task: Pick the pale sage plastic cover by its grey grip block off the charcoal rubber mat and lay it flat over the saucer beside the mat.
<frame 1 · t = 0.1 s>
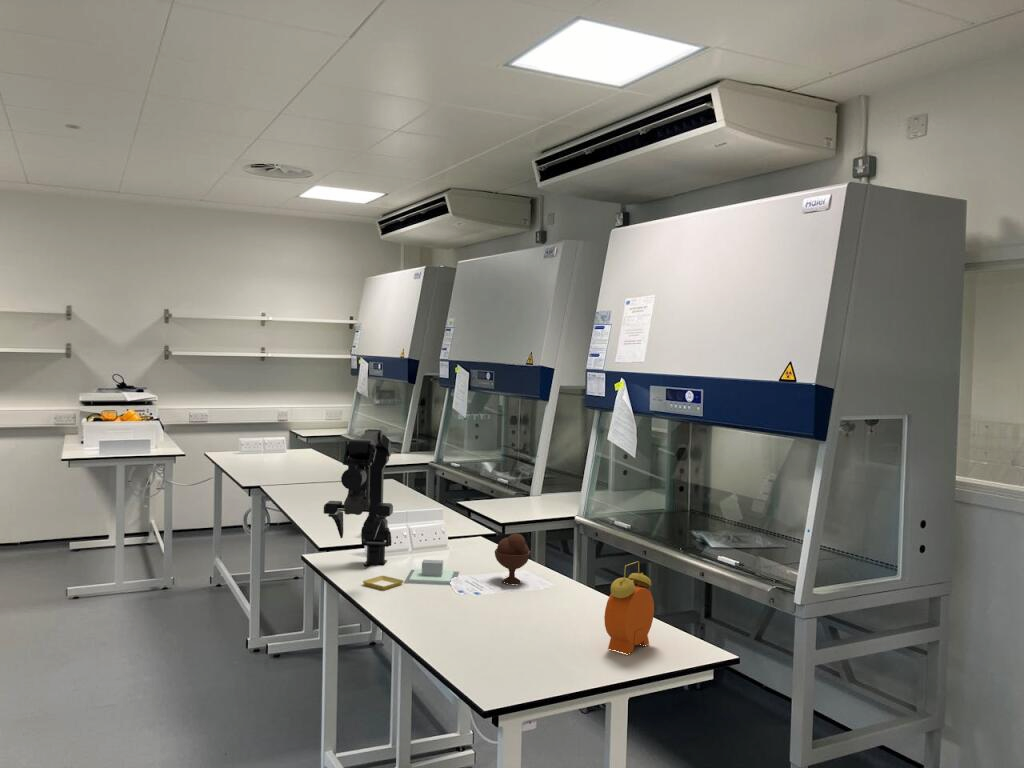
hand: (357, 538, 224), 15 cm above the table, tool pointing down, fingers open, 9 cm apart
cover: (432, 577, 238), resting on mat
alarm clock: (628, 647, 187), on the table
mat: (432, 578, 238), on the table
ice cream bowl: (511, 583, 238), on the table
saucer: (383, 588, 229), on the table
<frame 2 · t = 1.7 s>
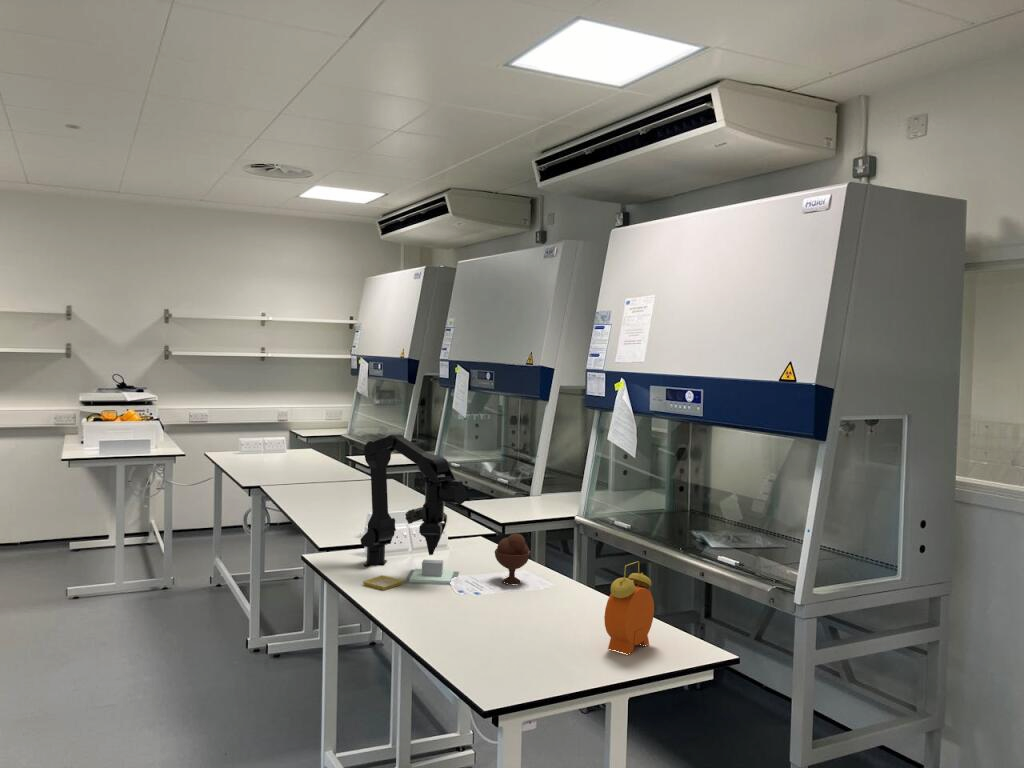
hand: (432, 551, 238), 8 cm above the table, tool pointing down, fingers open, 9 cm apart
nothing on the table moved.
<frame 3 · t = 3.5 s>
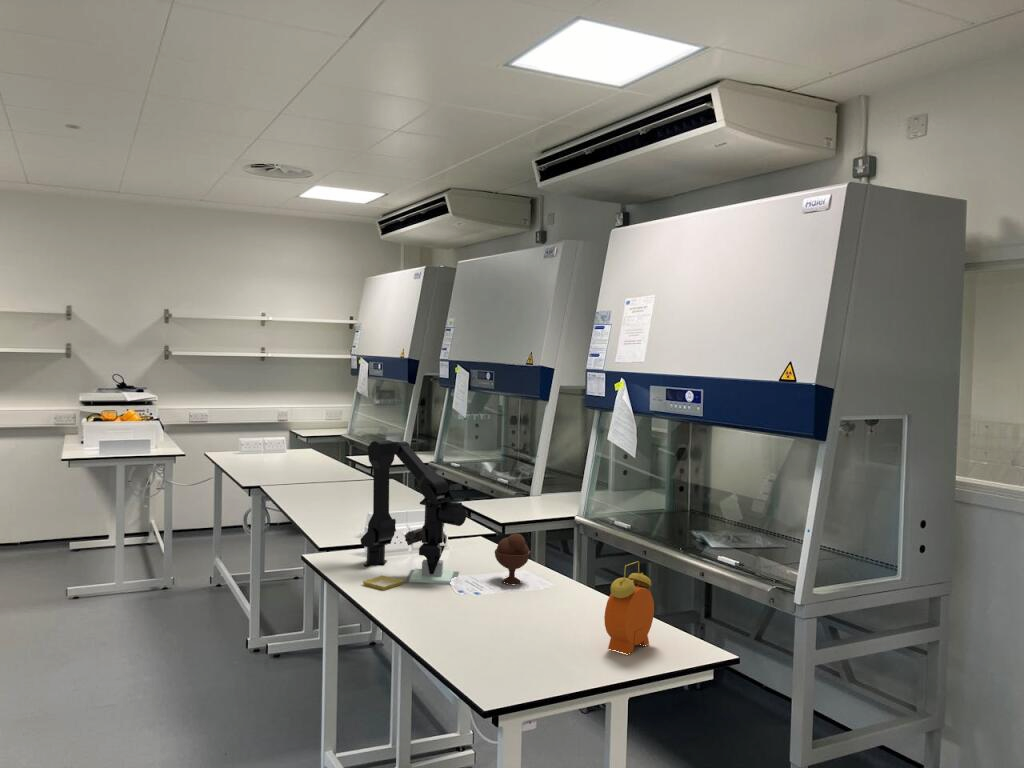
hand: (432, 572, 238), 2 cm above the table, tool pointing down, fingers closed on cover, 3 cm apart
cover: (432, 577, 238), resting on mat, touching gripper
everything else where it was.
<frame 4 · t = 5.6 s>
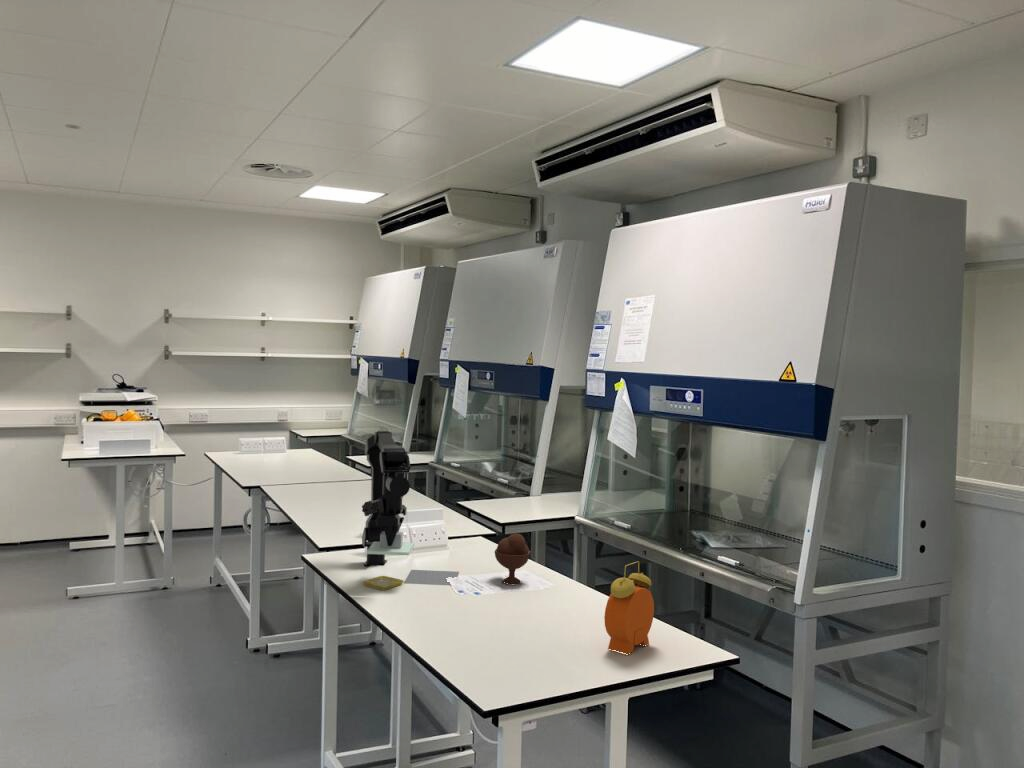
hand: (390, 544, 229), 12 cm above the table, tool pointing down, fingers closed on cover, 3 cm apart
cover: (391, 549, 229), point 11 cm above the table, touching gripper
everything else where it was.
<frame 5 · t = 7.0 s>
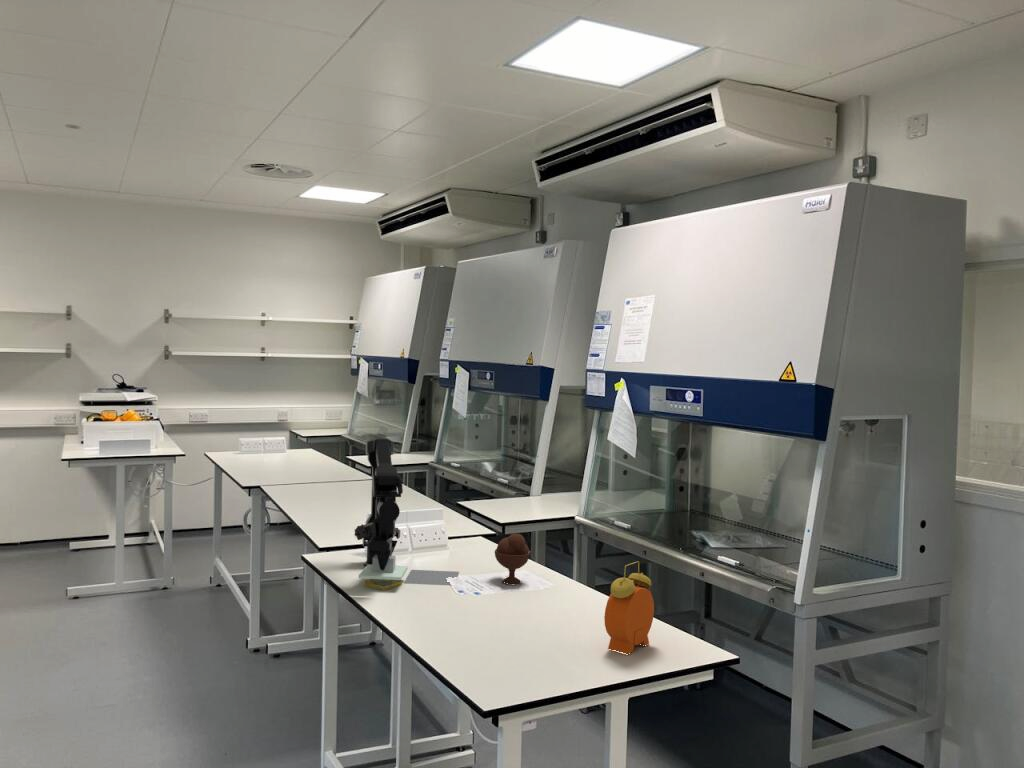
hand: (383, 568, 229), 5 cm above the table, tool pointing down, fingers closed on cover, 3 cm apart
cover: (383, 573, 229), point 4 cm above the table, touching gripper
everything else where it was.
when the fingers open (4 cm above the table, at t = 7.9 s): cover drops 1 cm, point 2 cm above the table.
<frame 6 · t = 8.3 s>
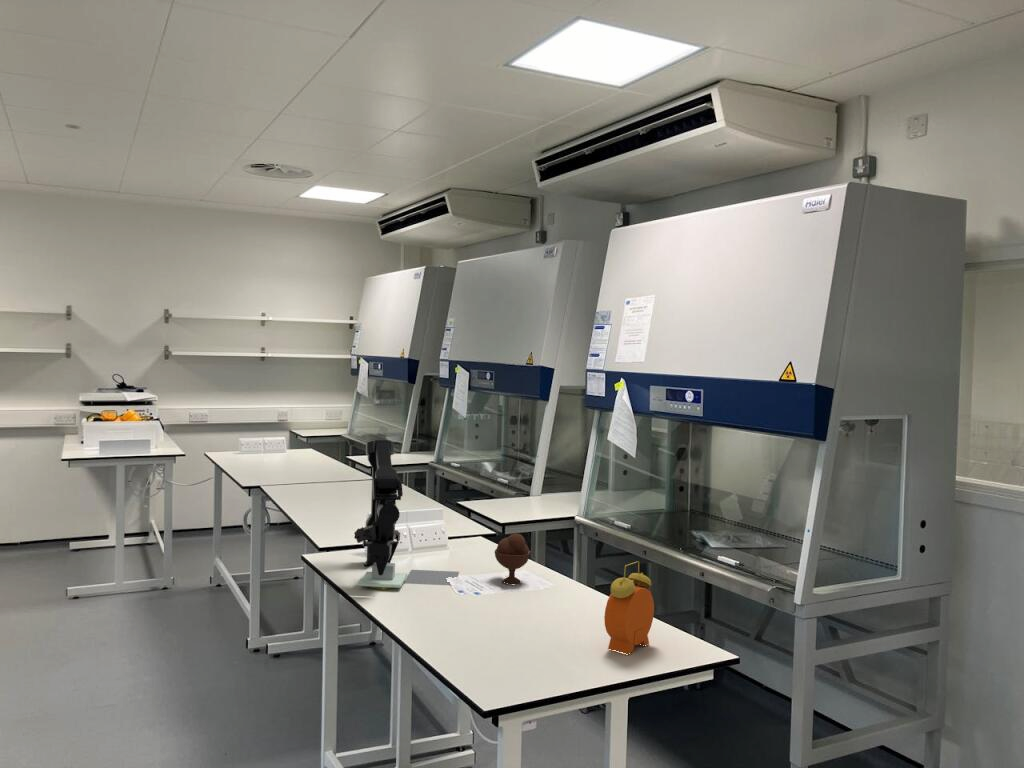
hand: (383, 571, 229), 4 cm above the table, tool pointing down, fingers open, 8 cm apart
cover: (383, 580, 229), point 2 cm above the table
everything else where it was.
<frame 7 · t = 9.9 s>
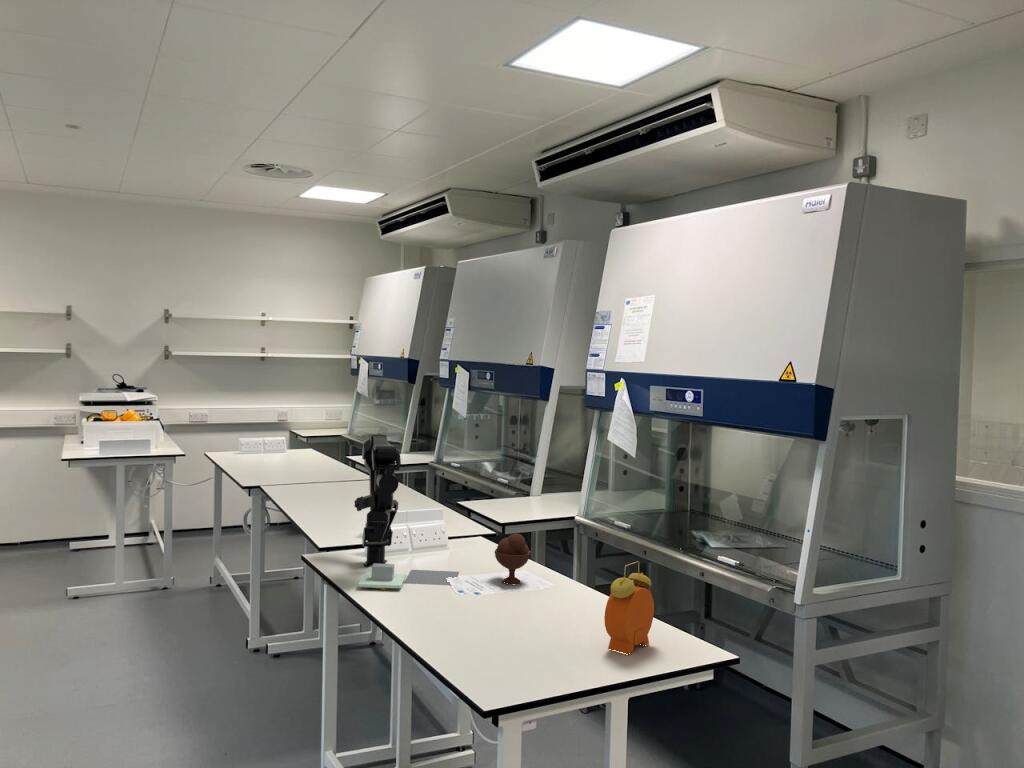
hand: (382, 538, 239), 12 cm above the table, tool pointing down, fingers open, 9 cm apart
cover: (382, 581, 229), point 1 cm above the table, touching saucer
saucer: (382, 589, 229), on the table, touching cover
everything else where it was.
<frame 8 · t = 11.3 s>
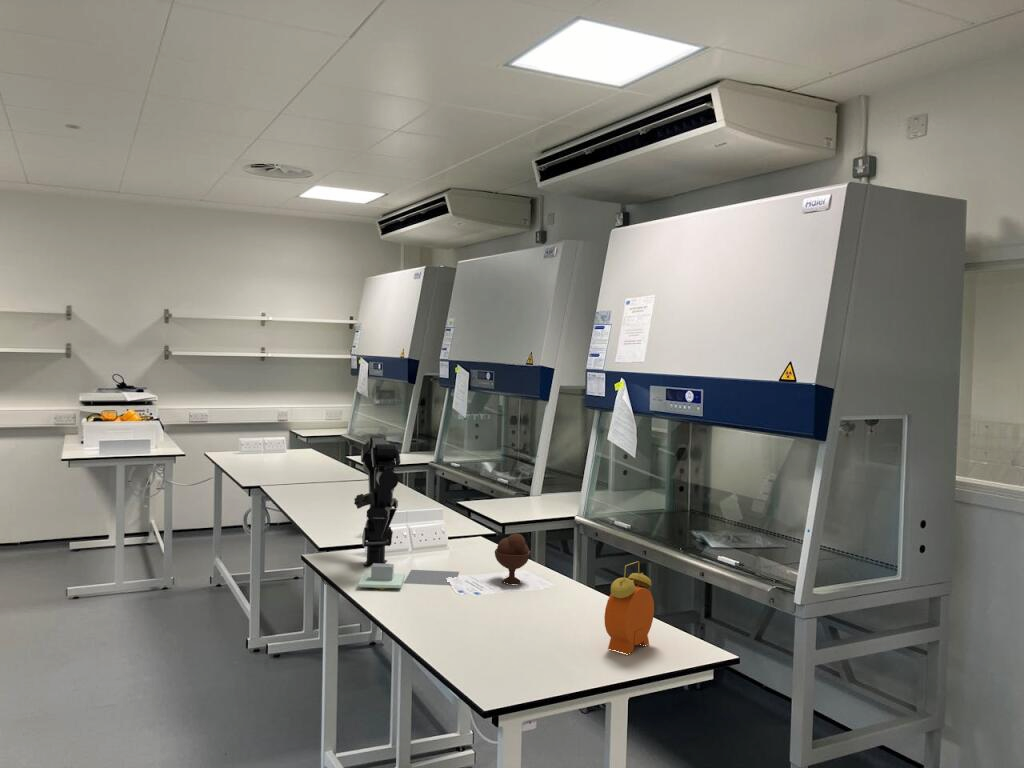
hand: (381, 535, 240), 12 cm above the table, tool pointing down, fingers open, 9 cm apart
nothing on the table moved.
at the end: cover 0.1 cm from the saucer (horizontally); cover point 1.4 cm above the table; cover tilted 0° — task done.
